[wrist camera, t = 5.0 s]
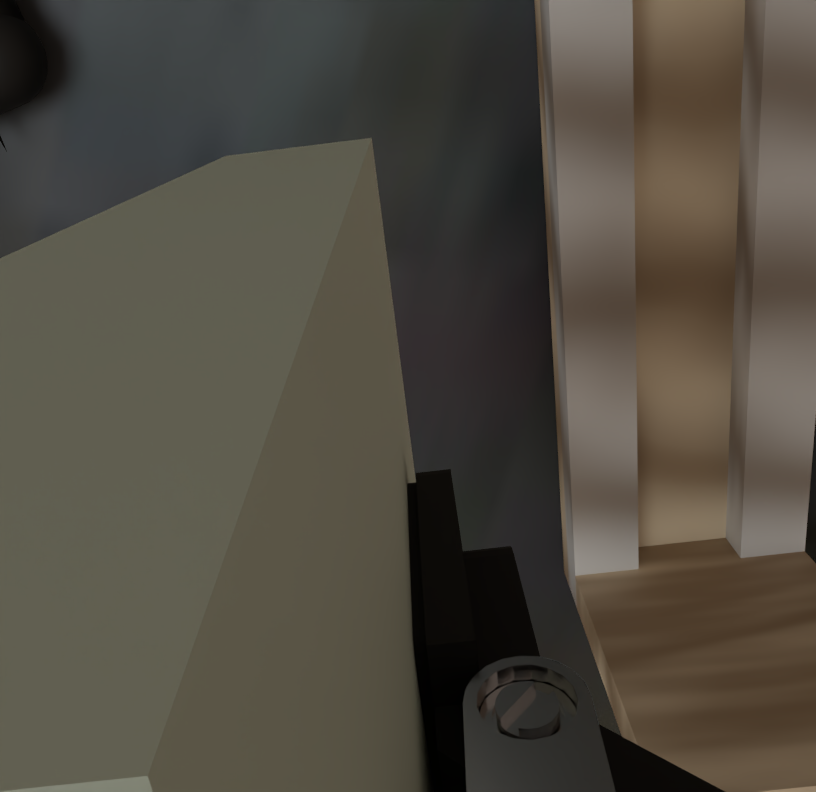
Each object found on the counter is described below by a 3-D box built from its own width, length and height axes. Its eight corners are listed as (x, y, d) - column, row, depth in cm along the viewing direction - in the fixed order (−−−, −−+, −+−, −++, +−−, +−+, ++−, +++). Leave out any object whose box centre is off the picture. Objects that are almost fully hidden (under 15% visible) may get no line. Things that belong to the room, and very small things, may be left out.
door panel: (225, 156, 13) (-1513, 950, 1) (406, 133, 13) (575, 730, 1) (333, 702, 18) (208, 2027, 6) (468, 687, 18) (635, 1998, 6)
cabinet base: (527, -134, 24) (659, -360, 12) (819, -173, 24) (1253, -445, 12) (564, 571, 34) (658, 840, 22) (774, 549, 33) (989, 809, 21)
